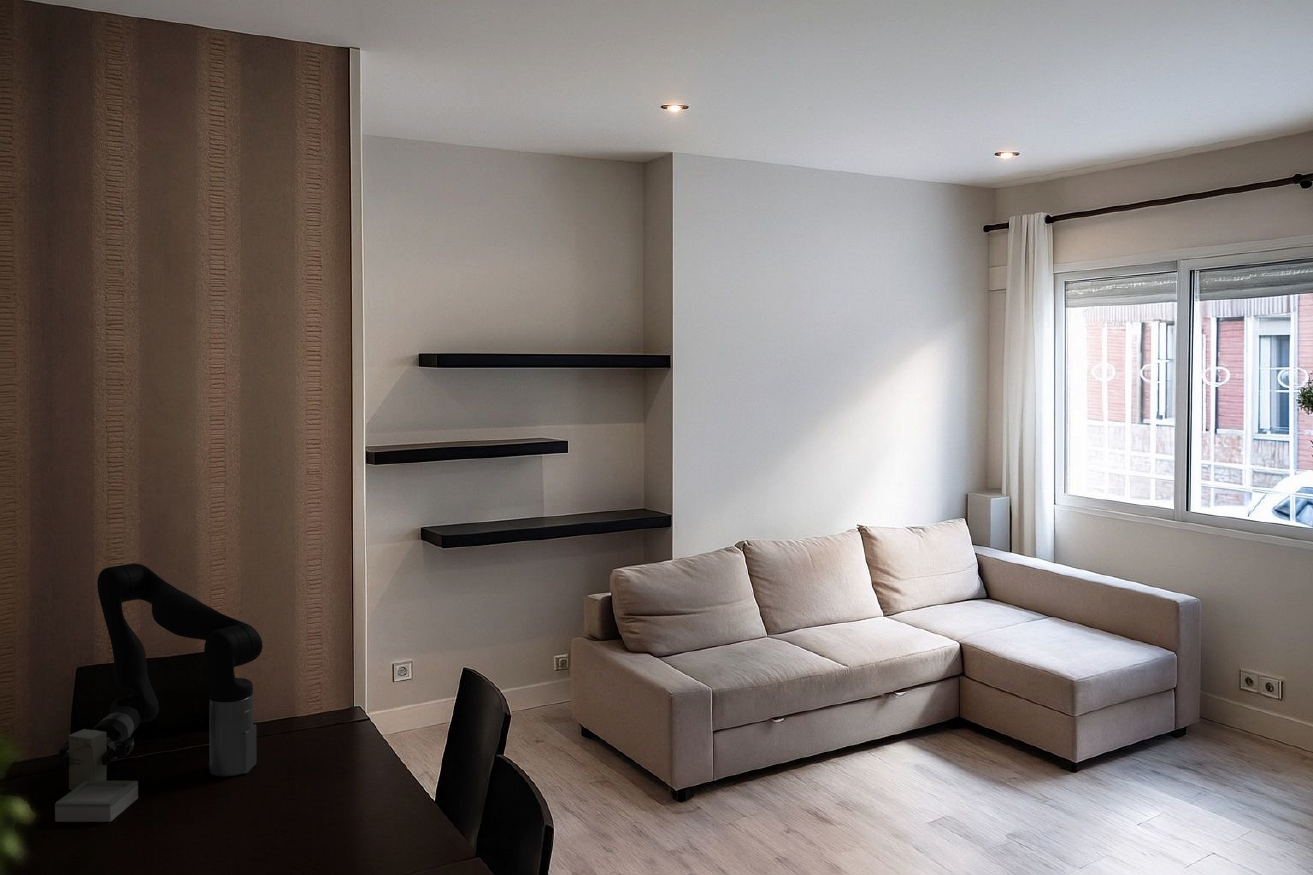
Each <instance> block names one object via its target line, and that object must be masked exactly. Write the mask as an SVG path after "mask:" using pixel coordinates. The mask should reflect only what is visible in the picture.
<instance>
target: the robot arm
mask: <svg viewBox="0 0 1313 875" xmlns="http://www.w3.org/2000/svg"><path fill="white" fill-rule="evenodd" d="M96 582H97V583H96V584H97V595H98V598H99V602H100V607H101V610H102V614H103V617H104V622H105V625H106V628H107V629H106V630H107V632H108V636H109V639H110V645H111V649H112V657H113V666H114V678H115V683H116V684H115V685H117V686H118V687H121V688H131V689H134V690H135V691H136V692H137V694H131V695H126V696H125V695H124V696H121V697H117V698H116V699H114V700H113V701H112V702H111V705H110V711H109V714H108V715H107V716H105V717H103V719H101V720H100V721H99V722H98V723H97V724H96V725H95V726H94V727H93V728H92V729H91V730H97V731H103V732H106V752H105V754H104V755H103V756H102V765H106V766H107V765H108V764H109V763H112V761H113V760H115V759H117V758H118V757H120V758H126V757H127V756H128V755H130V753H131V752H132V751H133V750H134V748H135V737H134V736H132V734H133V733H134V732H135V731H136V730H137V729H138V727H139V725H140V724H141V723H142V724H144V723H147V722H152V721H153V720H154V719H156V717H157V715H158V714H159V710H160V705H159V700H158V698H157V695H156V693H155V691H154V689H153V687H152V683H151V681H150V677H149V674H148V666H147V655H146V651H145V646H144V644H143V643H142V641H141V639H140V638H139V637H138V635H137V634H136V633H135V632H134V630H133V629H132V628H131V626H130V625H129V623H128V621H127V620H126V618H125V615H124V611H123V603H126V602H132V601H136V600H137V601H138V600H139V601H140V600H141V601H145V602H147V603H148V604H151V614H152V617H153V619H154V622H155V623H156V624H158V625H159V626H161V627H162V628H163V629H165V630H166V631H169V632H170V633H171V634H173V635H176V636H178V637H181V638H182V637H183V638H187V639H188V638H189V639H193V640H201V641H205V642H204V648H203V649H204V650H203V654H204V668H205V669H204V670H205V683H206V687H207V690H208V700H209V701H208V703H209V705H208V706H209V707H208V708H209V709H208V710H209V711H208V714H209V715H208V716H209V722H208V723H209V726H208V727H209V728H208V730H209V732H208V733H209V734H208V735H209V736H208V738H209V739H208V740H209V741H208V742H209V752H208V753H209V773H210V774H211V775H212V776H217V777H233V776H238V775H242V774H243V775H245V774H248V773H249V772H250V771H251V770H252V769H253V767H254V766H256V764H257V724H256V723H254V688H253V687H254V685H253V682H252V681H251V680H250V679H248V678H243V677H235V676H236V675H235V668H236V667H239V666H243V665H246V664H247V665H248V664H249V663H251V662H253V661H255V660H257V658H259V656H260V655H261V653H262V651H263V648H264V647H263V646H264V645H263V640H262V637H261V635H260V634H259V632H258V631H257V630H256V629H255V628H254V627H253V626H252V625H250V624H248V623H247V622H244V621H241V620H238V619H236V618H233V617H230V616H228V615H225V614H224V613H222V612H220V611H218V610H216V609H214V608H212V607H211V606H209V605H207V604H205V603H203V602H201V601H200V600H198V599H196V598H195V597H194V596H191V595H190V594H189V593H186V592H184V591H182V590H180V589H178V588H177V587H175V586H173V585H172V584H171V583H168V582H167V581H166V580H164V579H163V578H161V577H160V575H158V574H157V573H155V572H154V571H153V570H152V569H150V568H149V567H148V566H145V565H144V564H142V563H137V562H135V563H127V564H126V563H125V564H121V565H114V566H108V567H106V568H103V569H102V570H101V571H100V572H99V574H98V576H97V581H96ZM58 762H60V766H61V767H62V768H63V769H64V768H65V769H66V768H69V740H67V741H66V742H65V743H64V744H63V745H62V746H61V747H60V748H59V749H58Z"/></svg>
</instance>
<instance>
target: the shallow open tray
mask: <svg viewBox="0 0 1313 875" xmlns="http://www.w3.org/2000/svg"><path fill="white" fill-rule="evenodd" d="M138 799H139V780H106V781H84V782H83V783H82V784H80V785H79V786H78V787H76V788H75V789H74V790H70V791H69V792H68V793H67V794H65V795H64V796H62V797H61V798H60V799H58V800H57V801H56V802H55V803H54V822H57V823H58V822H59V823H62V822H63V823H64V822H65V823H66V822H67V823H69V822H70V823H111V822H112V821H113V820H114V819H115V818H116V817H118V816H119V815H120V814H121V813H123V812H124V811H125V810H126V809H127V808H128V807H130V806H131V805H132V804H133V803H134V802H136V801H137V800H138Z"/></svg>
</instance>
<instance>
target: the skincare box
mask: <svg viewBox="0 0 1313 875" xmlns="http://www.w3.org/2000/svg"><path fill="white" fill-rule="evenodd" d="M68 741H69V766H68V790H70V791H72V790H74V789H75V788H76V787H78V786H79V785H80V784H82V783H83V782H84V781H107V765H102V756H103V755H104V754H105V752H106V732H103V731H97V730H92V729H87V728H82V729H81V730H78V731H76V732H73V733H71V734H69V735H68Z"/></svg>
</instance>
